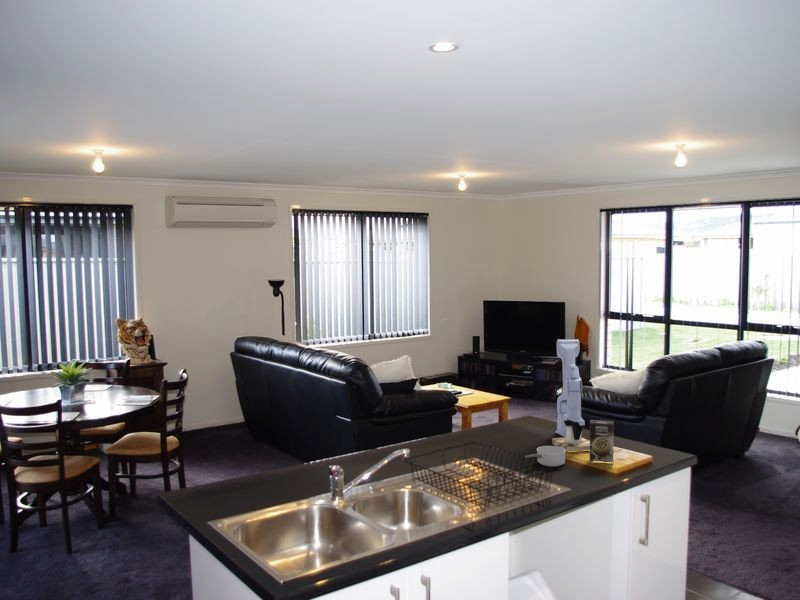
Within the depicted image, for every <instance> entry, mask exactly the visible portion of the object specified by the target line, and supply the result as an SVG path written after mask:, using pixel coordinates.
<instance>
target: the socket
mask: <svg viewBox="0 0 800 600" xmlns="http://www.w3.org/2000/svg"><path fill="white" fill-rule="evenodd" d="M551 445H552V446H557V447H562V448H564V449H566V450H568V451H582V450H590V440H588V439H586V438H584V437H582V443H577V444H571V443H570V444H569V443H567V442H566V437H564V436H563V437H556V438H555V437H554V438H552V440H551Z"/></svg>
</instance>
